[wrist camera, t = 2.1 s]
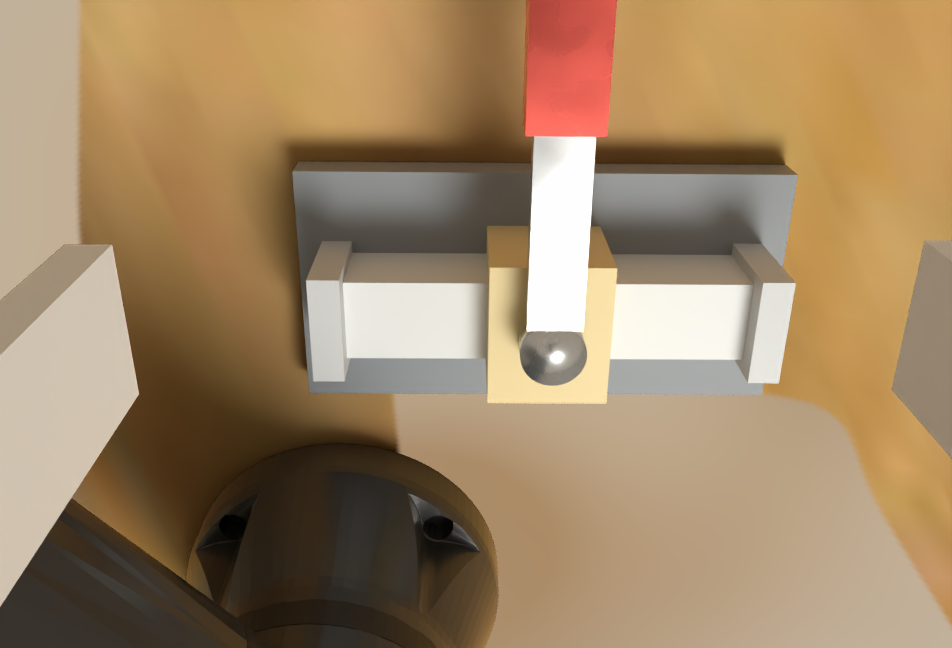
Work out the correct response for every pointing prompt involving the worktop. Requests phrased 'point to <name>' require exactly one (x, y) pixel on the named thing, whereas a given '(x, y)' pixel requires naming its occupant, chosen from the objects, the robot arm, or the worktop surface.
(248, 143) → the worktop surface
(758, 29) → the worktop surface
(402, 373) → the valve board
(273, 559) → the robot arm
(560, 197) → the lever
